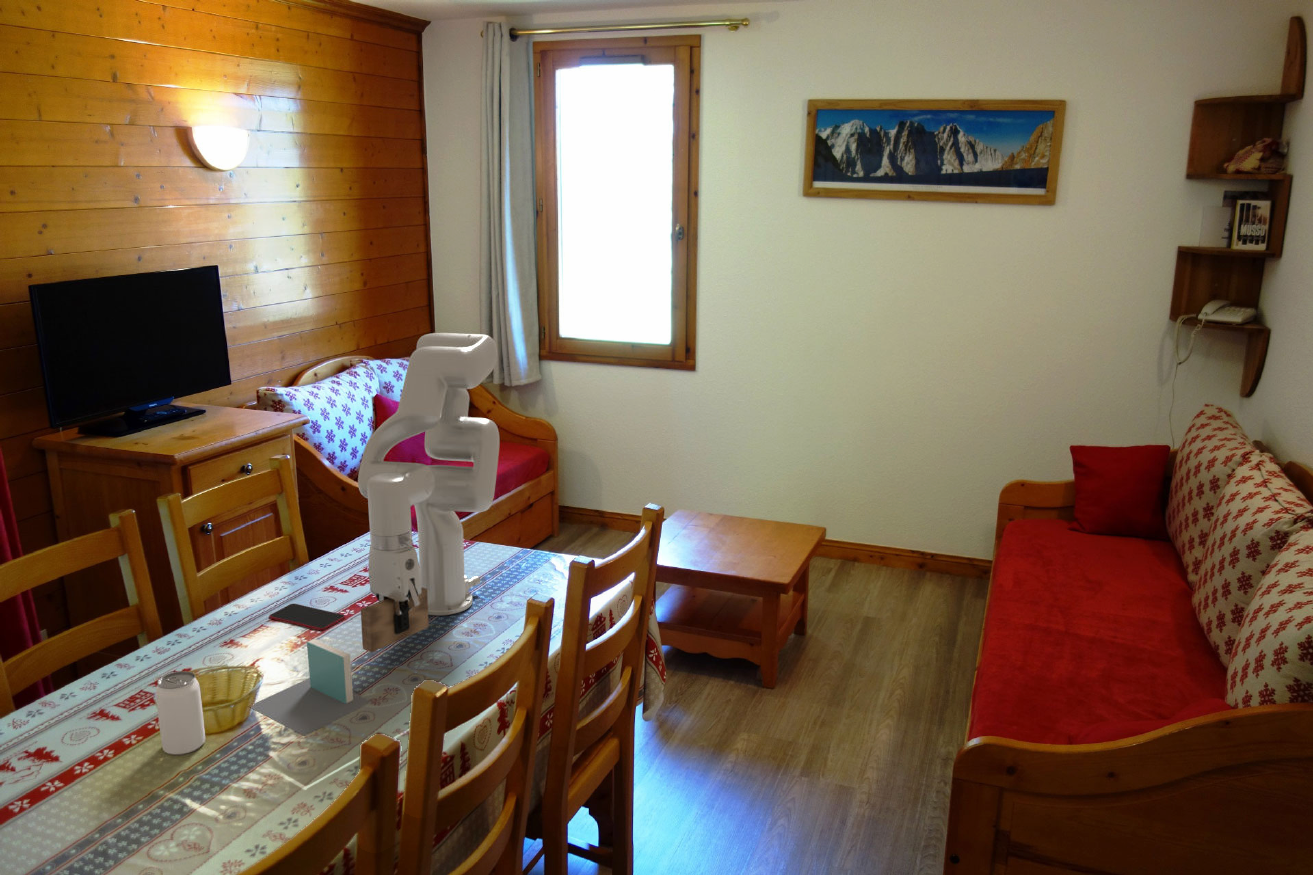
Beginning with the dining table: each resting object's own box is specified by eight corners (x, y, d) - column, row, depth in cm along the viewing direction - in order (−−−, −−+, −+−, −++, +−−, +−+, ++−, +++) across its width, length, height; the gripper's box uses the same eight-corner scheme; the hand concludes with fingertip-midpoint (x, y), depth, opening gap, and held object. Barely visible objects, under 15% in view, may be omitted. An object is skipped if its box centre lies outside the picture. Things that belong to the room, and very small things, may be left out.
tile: (317, 683, 182) (314, 638, 180) (353, 699, 177) (349, 654, 174) (310, 686, 181) (306, 641, 179) (345, 703, 175) (342, 657, 173)
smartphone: (292, 602, 216) (346, 615, 210) (292, 606, 216) (347, 619, 210) (267, 615, 209) (322, 629, 204) (267, 619, 210) (322, 633, 204)
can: (177, 760, 158) (169, 693, 155) (154, 748, 162) (145, 682, 159) (214, 742, 164) (206, 676, 161) (190, 730, 167) (182, 665, 164)
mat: (315, 676, 185) (315, 675, 185) (371, 703, 176) (371, 701, 176) (248, 708, 174) (248, 706, 174) (304, 737, 165) (304, 735, 165)
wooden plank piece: (419, 623, 196) (418, 586, 194) (428, 626, 195) (427, 589, 193) (362, 648, 185) (360, 609, 183) (371, 652, 183) (369, 612, 182)
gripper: (436, 542, 183) (440, 633, 188) (378, 524, 192) (383, 611, 197) (405, 554, 177) (410, 648, 182) (346, 535, 186) (353, 625, 191)
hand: (396, 628), depth 189 cm, fingers closed on wooden plank piece, 2 cm apart
